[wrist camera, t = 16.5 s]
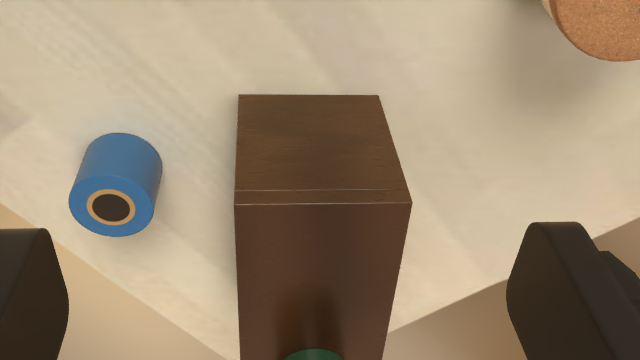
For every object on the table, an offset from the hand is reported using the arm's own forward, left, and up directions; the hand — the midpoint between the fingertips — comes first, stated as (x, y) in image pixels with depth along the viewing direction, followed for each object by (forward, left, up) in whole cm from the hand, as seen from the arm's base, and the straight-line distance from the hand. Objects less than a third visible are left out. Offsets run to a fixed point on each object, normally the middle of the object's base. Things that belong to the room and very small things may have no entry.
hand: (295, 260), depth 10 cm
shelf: (+3, -24, -30) cm, 39 cm away
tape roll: (-11, -20, -30) cm, 38 cm away
